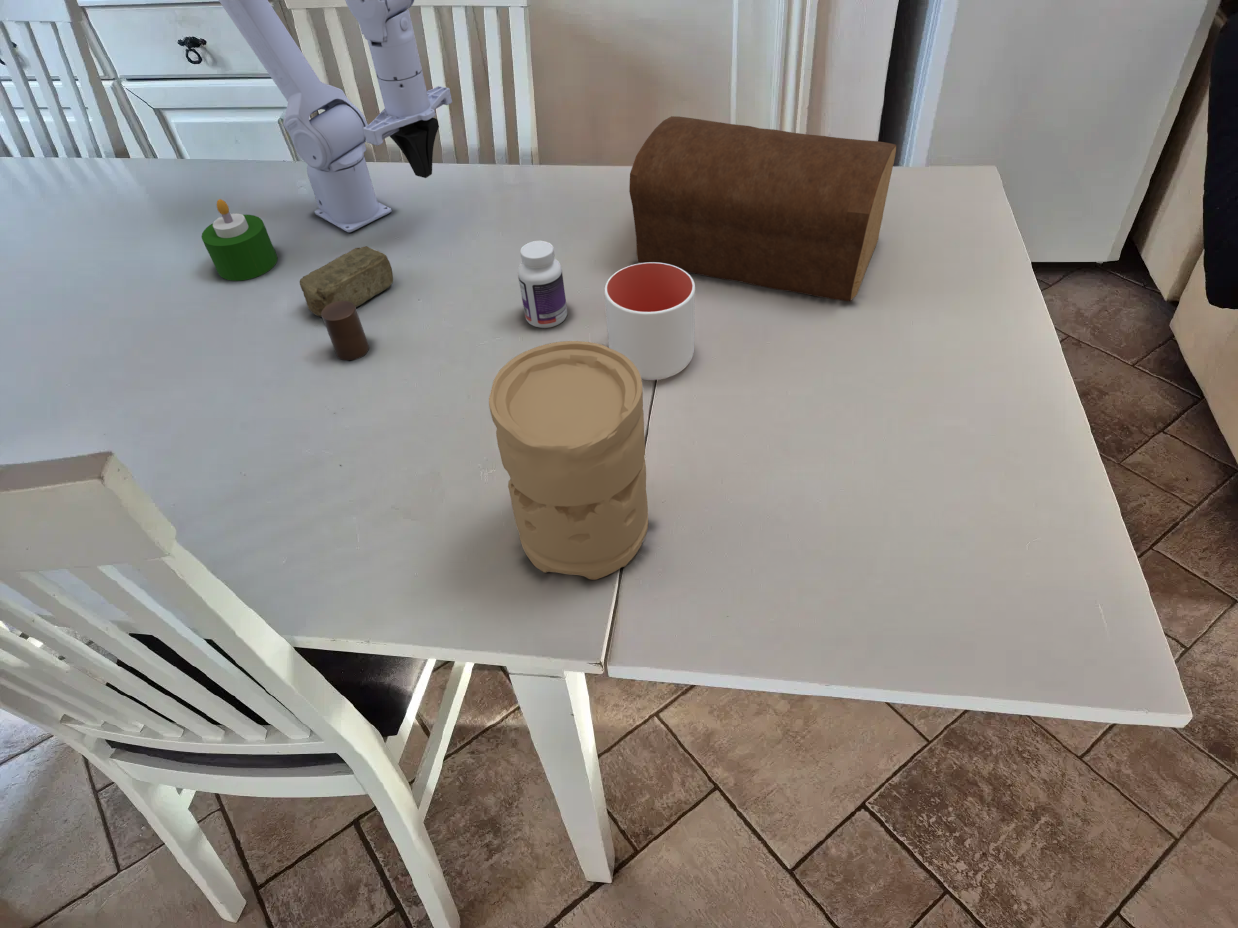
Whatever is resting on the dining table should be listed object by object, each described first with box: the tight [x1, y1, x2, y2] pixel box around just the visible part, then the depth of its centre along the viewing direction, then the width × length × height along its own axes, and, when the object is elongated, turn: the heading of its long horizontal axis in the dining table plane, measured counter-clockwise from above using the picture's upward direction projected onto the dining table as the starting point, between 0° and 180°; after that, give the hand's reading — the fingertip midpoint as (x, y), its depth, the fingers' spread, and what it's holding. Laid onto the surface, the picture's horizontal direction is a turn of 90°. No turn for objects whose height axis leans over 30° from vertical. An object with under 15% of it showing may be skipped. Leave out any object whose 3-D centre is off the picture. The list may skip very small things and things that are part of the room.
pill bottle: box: [517, 240, 568, 329], centre depth 100 cm, size 5×5×10 cm
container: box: [488, 340, 649, 581], centre depth 72 cm, size 13×13×18 cm
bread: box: [628, 115, 897, 302], centre depth 105 cm, size 18×30×16 cm, turn 67°
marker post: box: [321, 301, 370, 361], centre depth 98 cm, size 4×4×6 cm
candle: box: [201, 198, 278, 282], centre depth 112 cm, size 8×8×10 cm
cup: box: [603, 262, 696, 381], centre depth 93 cm, size 10×10×10 cm
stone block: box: [299, 245, 394, 318], centre depth 107 cm, size 6×12×5 cm, turn 141°
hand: (423, 174), depth 112 cm, fingers closed
